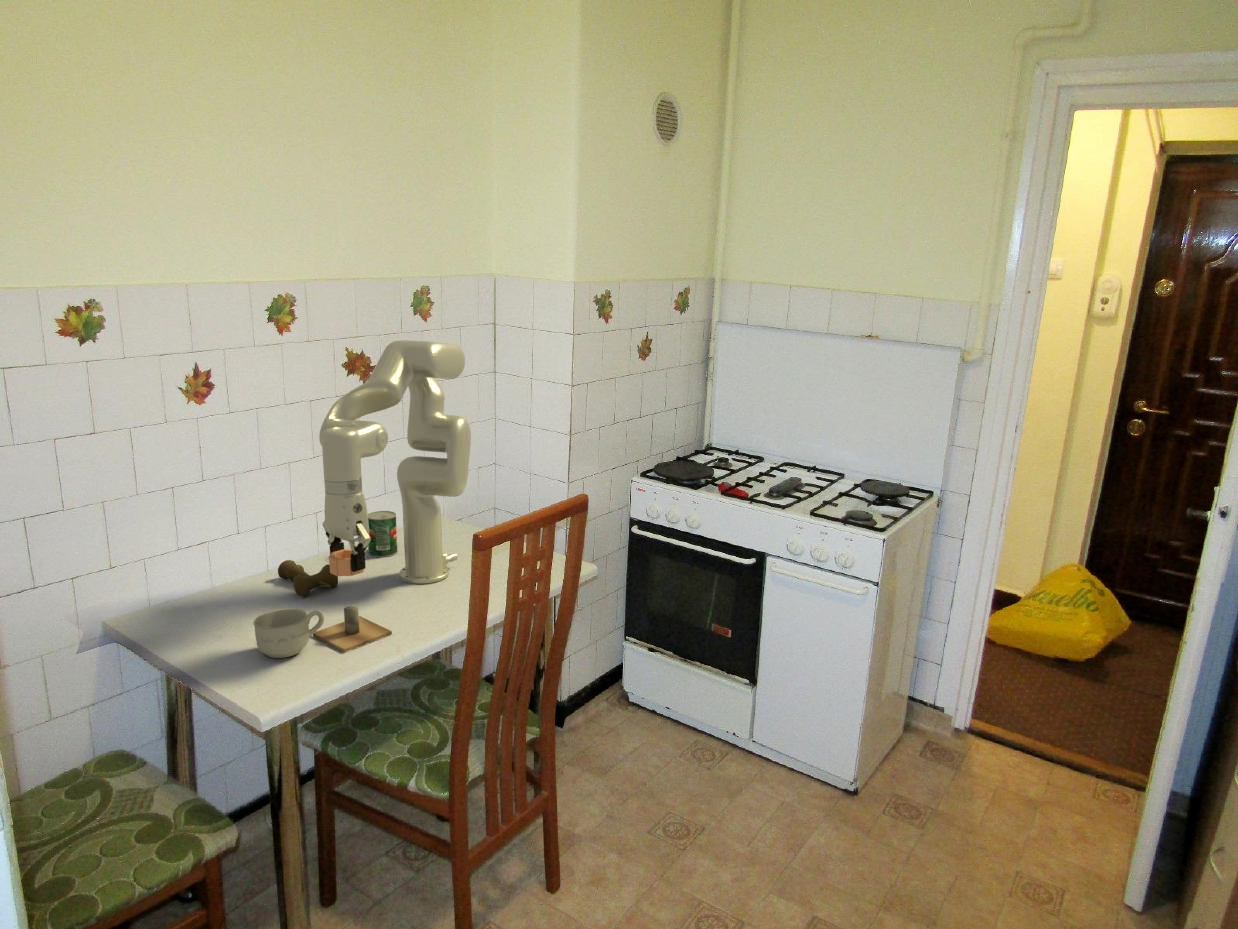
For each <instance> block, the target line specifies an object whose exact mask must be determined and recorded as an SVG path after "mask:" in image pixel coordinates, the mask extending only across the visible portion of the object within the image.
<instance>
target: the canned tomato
mask: <svg viewBox="0 0 1238 929" xmlns="http://www.w3.org/2000/svg"><path fill="white" fill-rule="evenodd" d="M367 514H368V522H369V536H370V538H371V541H370V542H369V544H368V547H367V550H368V552H367V554H368V556H370V555H371V556H370V557H373V558H387V557H392V555H393V556H395V555H396V554H398V551H399V550H398V531H397V530H398V529H397V513H396V512H394V511H389V510H378V511H373V512H370V513H367Z"/></svg>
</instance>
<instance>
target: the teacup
mask: <svg viewBox="0 0 1238 929" xmlns="http://www.w3.org/2000/svg"><path fill="white" fill-rule="evenodd" d="M315 616H317V617H318V620H317V623H316V624H315V625H314V626H313V627H312V628H310V627H309V625H310V623H311V619H312V618H313V617H315ZM324 621H325V617H324V615H323V613H322V612H321V611H319V610H312V611H310V612H307V610H304V609H301V608H280V609H275V610H271V611H268V612H265V613H262V614H260V615H258V616H257V617H256V618H255V619H254V620H253V626H254V633H255V634H254V635H255V642H256V646H257V647H258V650H259V651H260V652H261V653H262V654H265V655H267V656H268V657H269V658H274V659H282V658H288V657H292V656H295V655H297V654H299V653H300V652H302V650H303V649H304V648H305V647H306V646H307V645H308V643H309V640H310V638H311V637H313V633H315V632H317V631H319V630H320V628H321V627H322V626H323V624H324Z"/></svg>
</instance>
